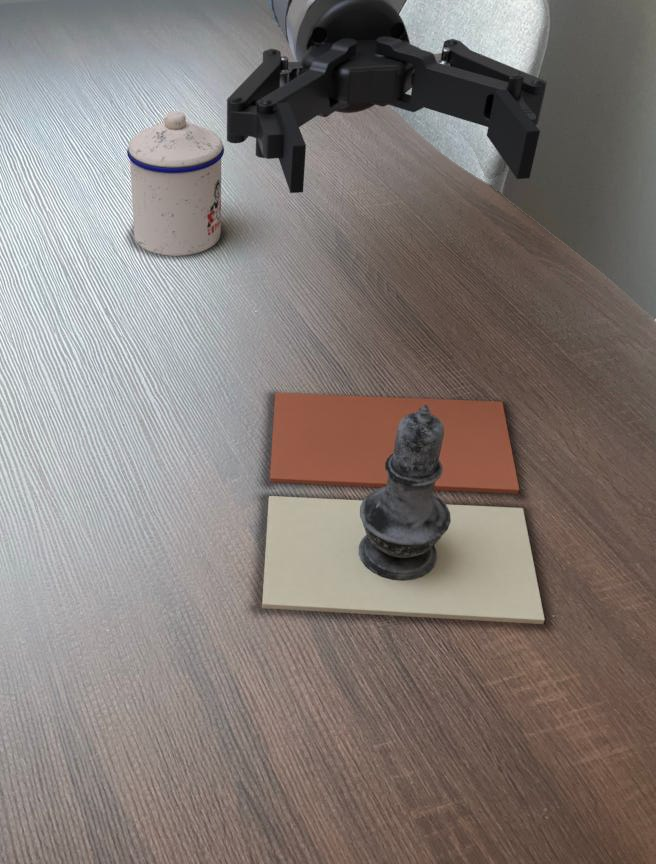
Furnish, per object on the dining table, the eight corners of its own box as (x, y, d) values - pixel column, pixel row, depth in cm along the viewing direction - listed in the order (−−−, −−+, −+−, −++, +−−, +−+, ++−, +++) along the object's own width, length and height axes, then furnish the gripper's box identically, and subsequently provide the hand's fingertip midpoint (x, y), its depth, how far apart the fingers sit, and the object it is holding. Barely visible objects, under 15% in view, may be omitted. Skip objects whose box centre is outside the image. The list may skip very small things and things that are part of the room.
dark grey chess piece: (454, 542, 70) (490, 393, 61) (422, 595, 67) (455, 446, 58) (374, 514, 72) (398, 367, 63) (339, 564, 69) (359, 416, 60)
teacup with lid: (229, 255, 99) (231, 130, 91) (136, 262, 99) (129, 137, 90) (211, 200, 108) (211, 81, 99) (125, 207, 107) (118, 87, 98)
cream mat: (521, 514, 73) (523, 507, 73) (542, 626, 66) (545, 619, 65) (268, 501, 74) (268, 495, 74) (261, 610, 67) (262, 603, 67)
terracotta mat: (500, 407, 82) (502, 401, 81) (517, 496, 74) (519, 489, 74) (274, 398, 83) (275, 392, 83) (269, 484, 76) (270, 478, 75)
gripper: (505, 85, 77) (605, 212, 63) (176, 105, 77) (201, 237, 62) (527, -30, 72) (643, 80, 57) (172, -10, 71) (200, 107, 57)
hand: (413, 162), depth 60 cm, fingers open, 13 cm apart
